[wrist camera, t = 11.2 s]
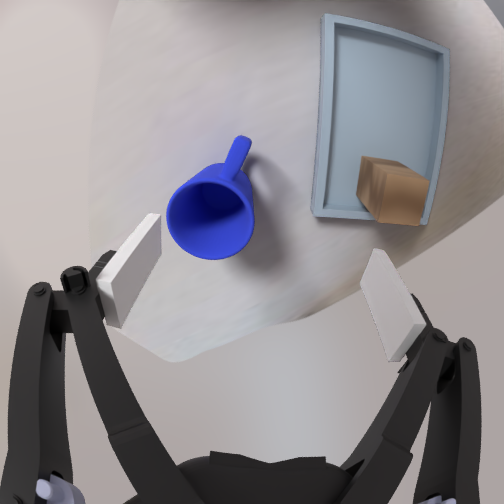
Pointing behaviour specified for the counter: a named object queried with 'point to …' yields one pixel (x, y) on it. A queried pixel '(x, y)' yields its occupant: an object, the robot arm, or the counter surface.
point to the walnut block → (391, 191)
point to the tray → (376, 110)
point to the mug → (214, 208)
